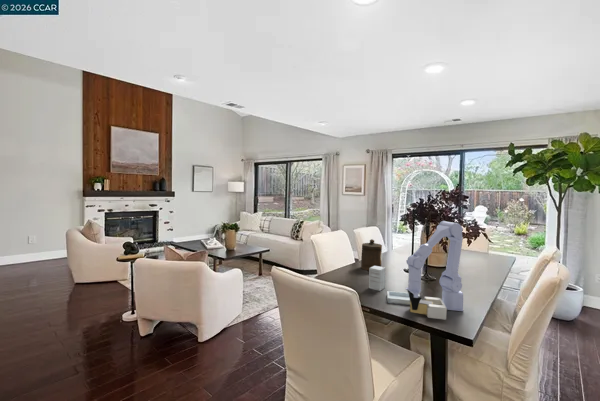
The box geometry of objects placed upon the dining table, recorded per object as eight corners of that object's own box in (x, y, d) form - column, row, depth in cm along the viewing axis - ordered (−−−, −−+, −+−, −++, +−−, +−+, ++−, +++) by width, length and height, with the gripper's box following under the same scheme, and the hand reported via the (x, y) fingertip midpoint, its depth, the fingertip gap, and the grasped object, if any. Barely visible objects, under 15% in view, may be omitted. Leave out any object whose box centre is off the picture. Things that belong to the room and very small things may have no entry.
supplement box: (373, 285, 188) (374, 265, 187) (385, 288, 183) (385, 267, 182) (368, 288, 182) (369, 267, 181) (380, 291, 177) (380, 269, 177)
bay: (440, 308, 152) (440, 298, 152) (446, 319, 140) (446, 308, 140) (423, 307, 154) (423, 296, 154) (427, 317, 142) (428, 306, 141)
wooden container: (385, 269, 224) (386, 240, 223) (370, 272, 217) (371, 241, 216) (371, 265, 237) (372, 237, 236) (356, 267, 230) (357, 238, 229)
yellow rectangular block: (432, 311, 149) (432, 301, 149) (432, 315, 144) (432, 304, 144) (410, 308, 153) (410, 298, 152) (410, 312, 148) (410, 301, 148)
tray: (418, 298, 167) (419, 293, 167) (422, 306, 155) (422, 301, 155) (386, 294, 171) (387, 290, 171) (387, 302, 159) (387, 298, 159)
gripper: (404, 275, 157) (403, 300, 157) (407, 283, 143) (406, 311, 143) (419, 276, 155) (418, 302, 156) (423, 285, 141) (422, 313, 141)
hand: (413, 307), depth 149 cm, fingers open, 6 cm apart
